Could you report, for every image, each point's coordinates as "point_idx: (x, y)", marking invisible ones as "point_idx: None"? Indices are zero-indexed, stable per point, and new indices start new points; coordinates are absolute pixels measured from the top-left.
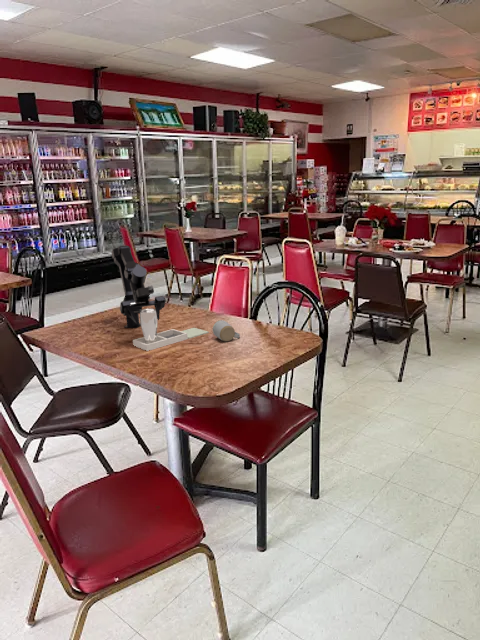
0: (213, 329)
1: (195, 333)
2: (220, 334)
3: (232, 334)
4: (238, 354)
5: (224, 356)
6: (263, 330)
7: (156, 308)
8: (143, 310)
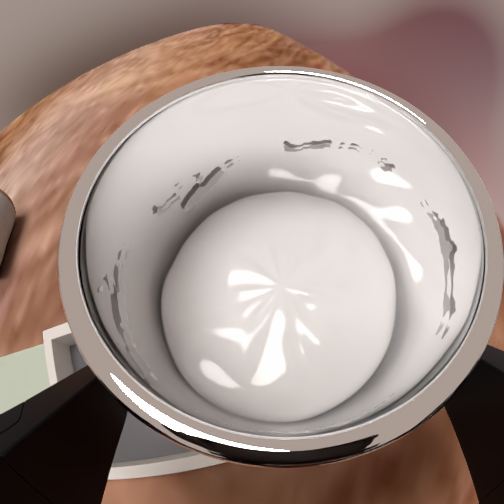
0: None
1: (17, 383)
2: (6, 196)
3: None
4: (69, 122)
5: (98, 115)
6: None
7: (18, 481)
8: (403, 402)
